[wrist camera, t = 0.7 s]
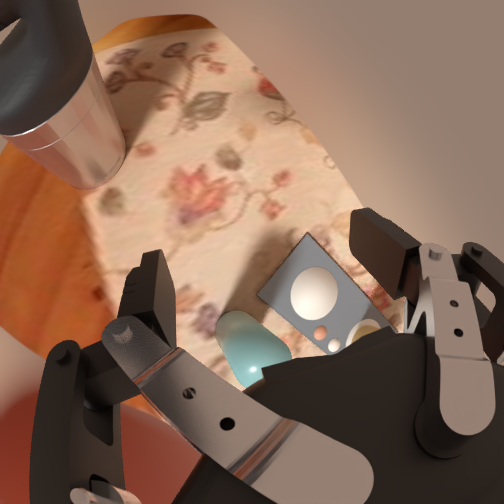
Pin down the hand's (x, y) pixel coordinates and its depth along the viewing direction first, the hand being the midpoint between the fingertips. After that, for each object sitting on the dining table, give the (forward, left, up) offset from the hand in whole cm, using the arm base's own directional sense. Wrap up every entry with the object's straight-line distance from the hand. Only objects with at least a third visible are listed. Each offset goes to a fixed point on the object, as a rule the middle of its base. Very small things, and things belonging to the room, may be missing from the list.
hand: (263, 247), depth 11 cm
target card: (+20, +5, -21) cm, 30 cm away
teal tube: (+9, -5, -22) cm, 24 cm away
